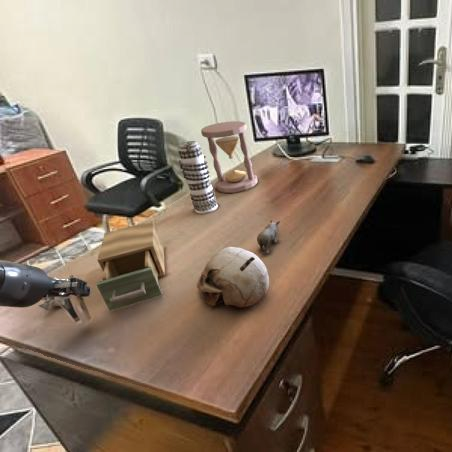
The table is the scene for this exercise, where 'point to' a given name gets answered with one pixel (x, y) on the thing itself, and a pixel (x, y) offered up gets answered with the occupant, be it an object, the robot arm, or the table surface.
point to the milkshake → (75, 309)
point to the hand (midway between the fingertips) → (75, 293)
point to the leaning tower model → (197, 177)
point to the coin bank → (233, 278)
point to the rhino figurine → (268, 236)
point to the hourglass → (230, 155)
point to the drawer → (129, 280)
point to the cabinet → (132, 244)
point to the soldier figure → (51, 300)
